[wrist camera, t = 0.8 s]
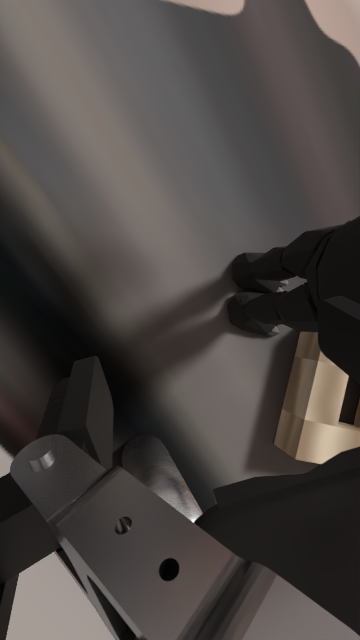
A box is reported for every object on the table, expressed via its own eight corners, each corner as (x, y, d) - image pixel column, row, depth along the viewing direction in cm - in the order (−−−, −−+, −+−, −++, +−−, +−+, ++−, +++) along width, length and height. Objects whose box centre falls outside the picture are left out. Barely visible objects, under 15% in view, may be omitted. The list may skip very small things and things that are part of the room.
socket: (273, 444, 36) (295, 459, 32) (302, 322, 37) (327, 322, 33) (372, 463, 40) (402, 478, 36) (396, 351, 41) (428, 354, 37)
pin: (116, 474, 32) (134, 592, 18) (128, 430, 32) (155, 512, 18) (159, 481, 33) (206, 595, 19) (170, 437, 33) (225, 520, 20)
